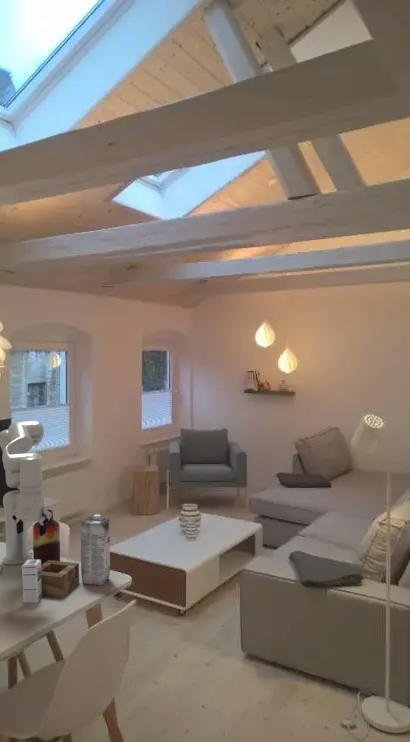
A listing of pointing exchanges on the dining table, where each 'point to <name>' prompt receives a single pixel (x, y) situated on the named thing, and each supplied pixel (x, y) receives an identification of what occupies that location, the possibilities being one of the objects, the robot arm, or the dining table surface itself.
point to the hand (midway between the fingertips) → (31, 533)
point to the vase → (47, 541)
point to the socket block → (59, 577)
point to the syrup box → (32, 580)
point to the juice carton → (95, 550)
